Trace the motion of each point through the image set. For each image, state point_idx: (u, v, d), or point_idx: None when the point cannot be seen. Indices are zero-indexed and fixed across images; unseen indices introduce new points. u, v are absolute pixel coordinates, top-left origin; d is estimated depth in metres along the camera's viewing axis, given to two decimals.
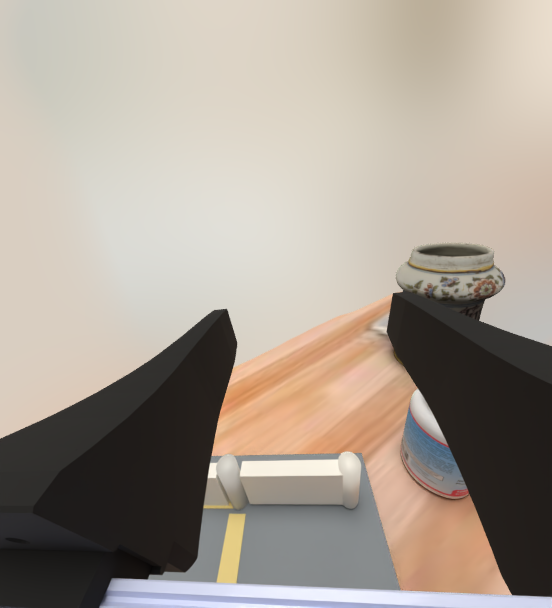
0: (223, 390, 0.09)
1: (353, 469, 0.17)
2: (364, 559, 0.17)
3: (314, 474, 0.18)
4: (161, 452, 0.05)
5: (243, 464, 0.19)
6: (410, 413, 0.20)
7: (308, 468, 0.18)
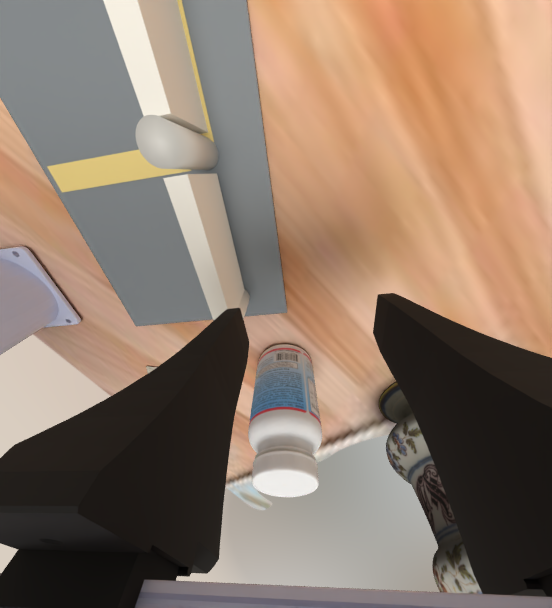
0: (238, 389, 0.08)
1: None
2: (201, 301, 0.20)
3: (206, 296, 0.13)
4: (186, 451, 0.05)
5: (182, 179, 0.10)
6: (288, 405, 0.17)
7: (211, 289, 0.13)
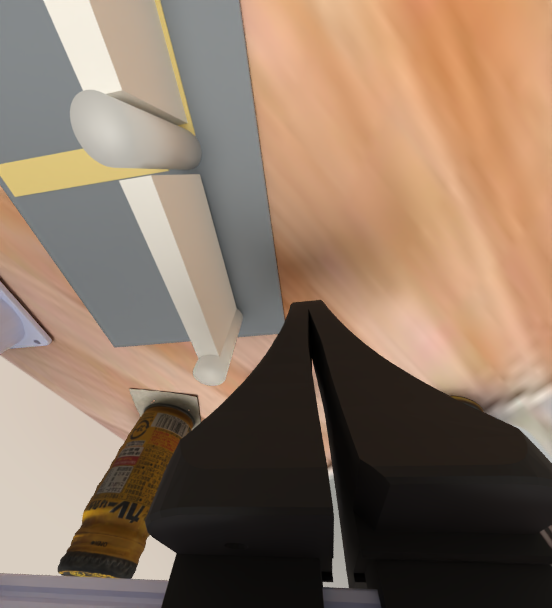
0: None
1: (202, 378, 0.12)
2: None
3: (186, 326, 0.11)
4: None
5: (145, 182, 0.07)
6: None
7: (191, 317, 0.11)
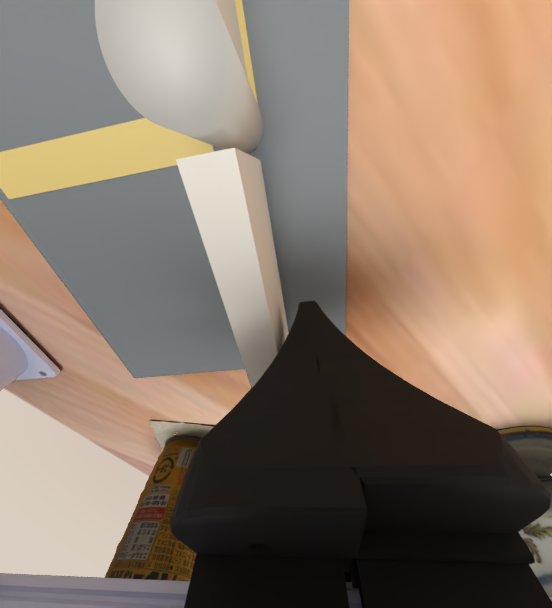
0: None
1: None
2: (224, 348, 0.14)
3: (251, 377, 0.07)
4: None
5: (222, 161, 0.04)
6: None
7: (260, 367, 0.07)
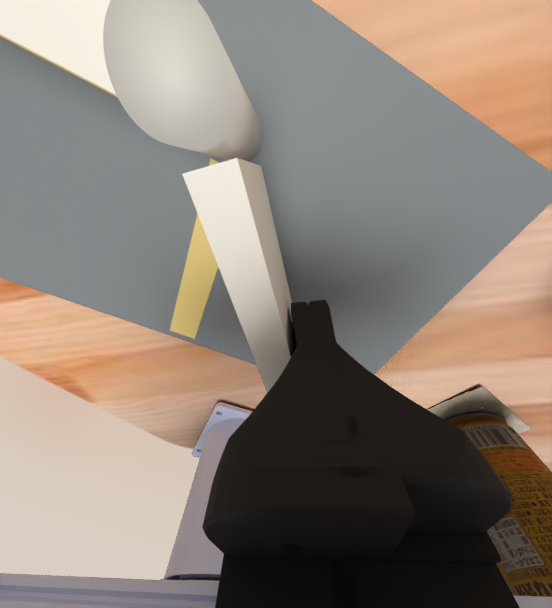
0: None
1: None
2: (397, 310, 0.12)
3: (265, 379, 0.08)
4: None
5: (226, 171, 0.04)
6: None
7: (274, 368, 0.07)
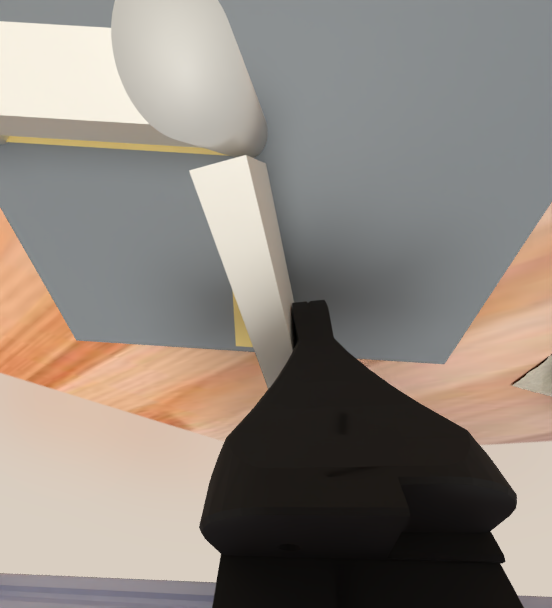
0: None
1: None
2: (475, 248, 0.10)
3: (268, 379, 0.08)
4: None
5: (234, 169, 0.04)
6: None
7: (277, 369, 0.07)
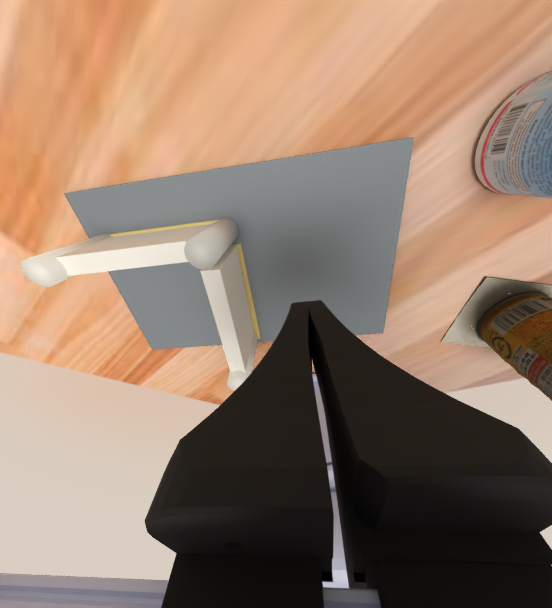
0: None
1: (232, 386, 0.17)
2: (368, 261, 0.18)
3: (225, 351, 0.16)
4: None
5: (216, 272, 0.13)
6: None
7: (230, 346, 0.16)
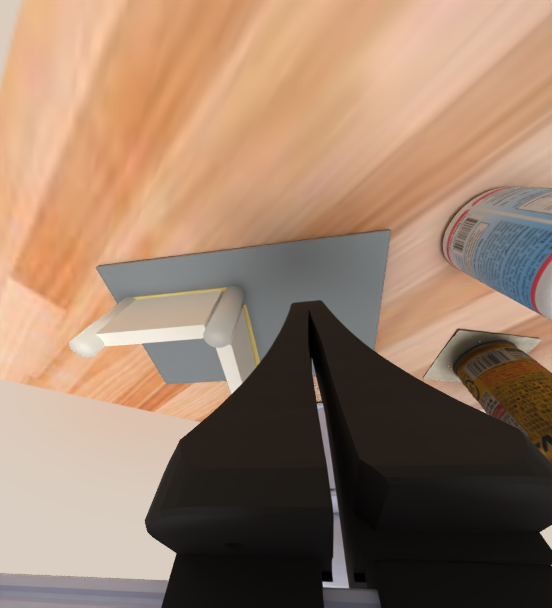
0: None
1: None
2: (356, 318, 0.20)
3: None
4: None
5: (227, 346, 0.16)
6: (541, 260, 0.10)
7: None
